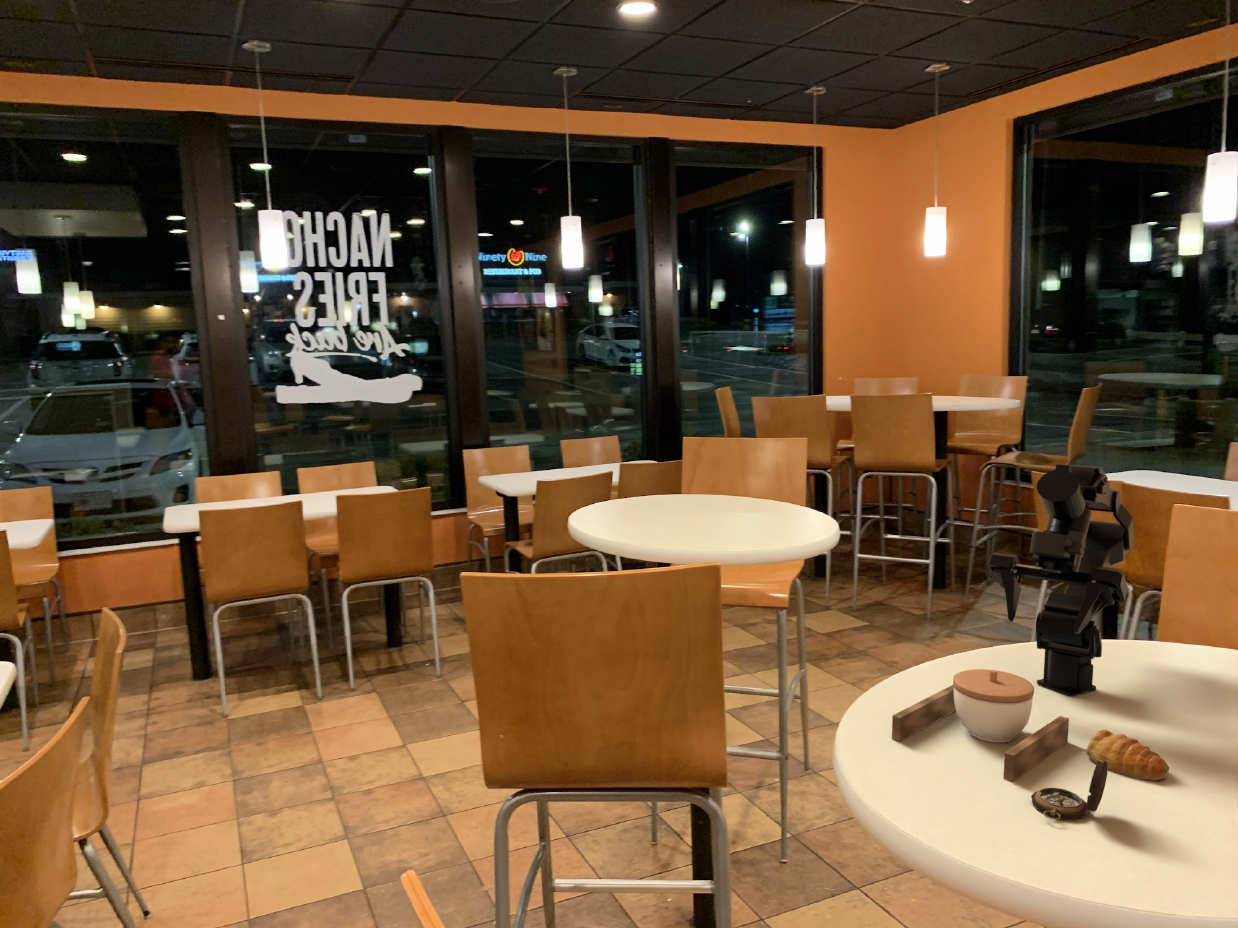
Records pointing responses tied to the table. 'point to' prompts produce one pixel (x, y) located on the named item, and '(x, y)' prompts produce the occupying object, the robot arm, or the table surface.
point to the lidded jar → (992, 703)
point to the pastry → (1126, 756)
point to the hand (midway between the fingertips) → (1042, 626)
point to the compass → (1072, 797)
